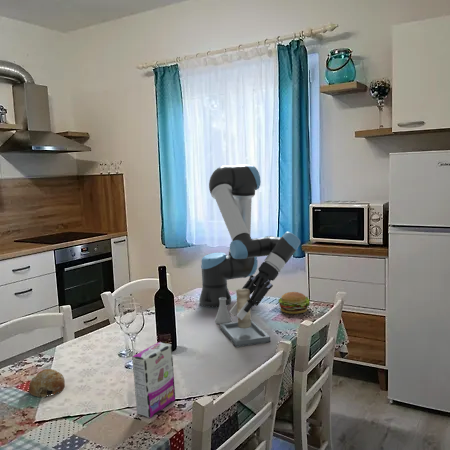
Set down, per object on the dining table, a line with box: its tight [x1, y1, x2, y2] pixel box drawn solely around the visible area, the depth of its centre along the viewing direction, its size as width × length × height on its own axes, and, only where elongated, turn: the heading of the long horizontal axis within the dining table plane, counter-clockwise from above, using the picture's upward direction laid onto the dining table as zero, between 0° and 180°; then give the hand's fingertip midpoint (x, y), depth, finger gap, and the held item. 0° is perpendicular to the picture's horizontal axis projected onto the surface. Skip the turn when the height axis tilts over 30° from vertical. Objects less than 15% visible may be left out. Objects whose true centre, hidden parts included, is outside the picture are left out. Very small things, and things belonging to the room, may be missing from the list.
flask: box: [214, 298, 233, 325], centre depth 195 cm, size 7×7×10 cm
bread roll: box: [28, 368, 66, 398], centre depth 140 cm, size 10×10×8 cm
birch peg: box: [235, 288, 252, 329], centre depth 177 cm, size 5×5×14 cm
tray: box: [220, 319, 271, 348], centre depth 179 cm, size 20×13×2 cm, turn 17°
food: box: [277, 291, 310, 315], centre depth 206 cm, size 14×14×8 cm
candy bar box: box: [131, 341, 176, 419], centre depth 127 cm, size 11×5×16 cm, turn 148°
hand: (235, 315), depth 176 cm, fingers closed on birch peg, 5 cm apart
